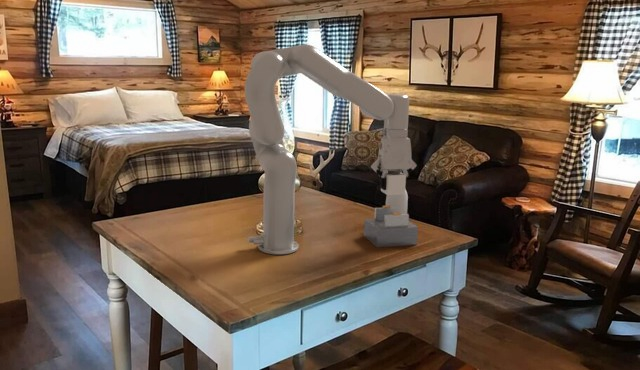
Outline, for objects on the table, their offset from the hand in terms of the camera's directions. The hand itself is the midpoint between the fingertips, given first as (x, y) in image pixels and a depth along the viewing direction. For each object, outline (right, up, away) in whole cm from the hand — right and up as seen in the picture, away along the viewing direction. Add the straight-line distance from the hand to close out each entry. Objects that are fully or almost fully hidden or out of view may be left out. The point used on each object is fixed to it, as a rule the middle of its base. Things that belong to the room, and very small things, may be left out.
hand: (392, 188), depth 179 cm
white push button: (0, -1, 0) cm, 1 cm away
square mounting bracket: (0, -17, +4) cm, 18 cm away
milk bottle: (+3, -15, +17) cm, 23 cm away
